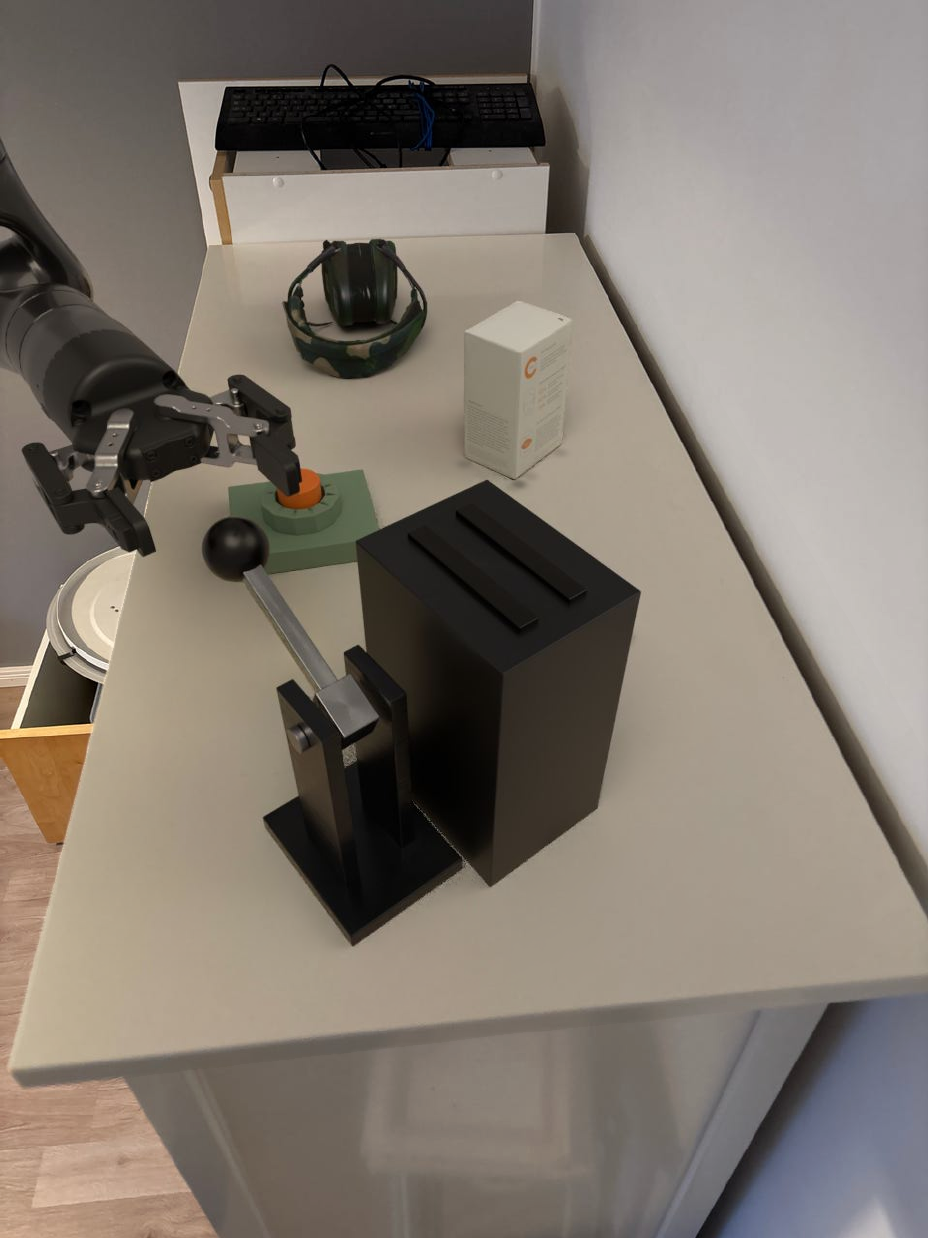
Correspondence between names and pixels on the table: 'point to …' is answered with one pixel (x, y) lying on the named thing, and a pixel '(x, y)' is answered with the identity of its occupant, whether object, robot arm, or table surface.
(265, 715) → the table surface
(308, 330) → the headphones
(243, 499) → the control block
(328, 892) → the lever bracket
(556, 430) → the small box
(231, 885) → the table surface
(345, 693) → the toaster lever
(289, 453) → the robot arm
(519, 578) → the toaster
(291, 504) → the button
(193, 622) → the table surface
